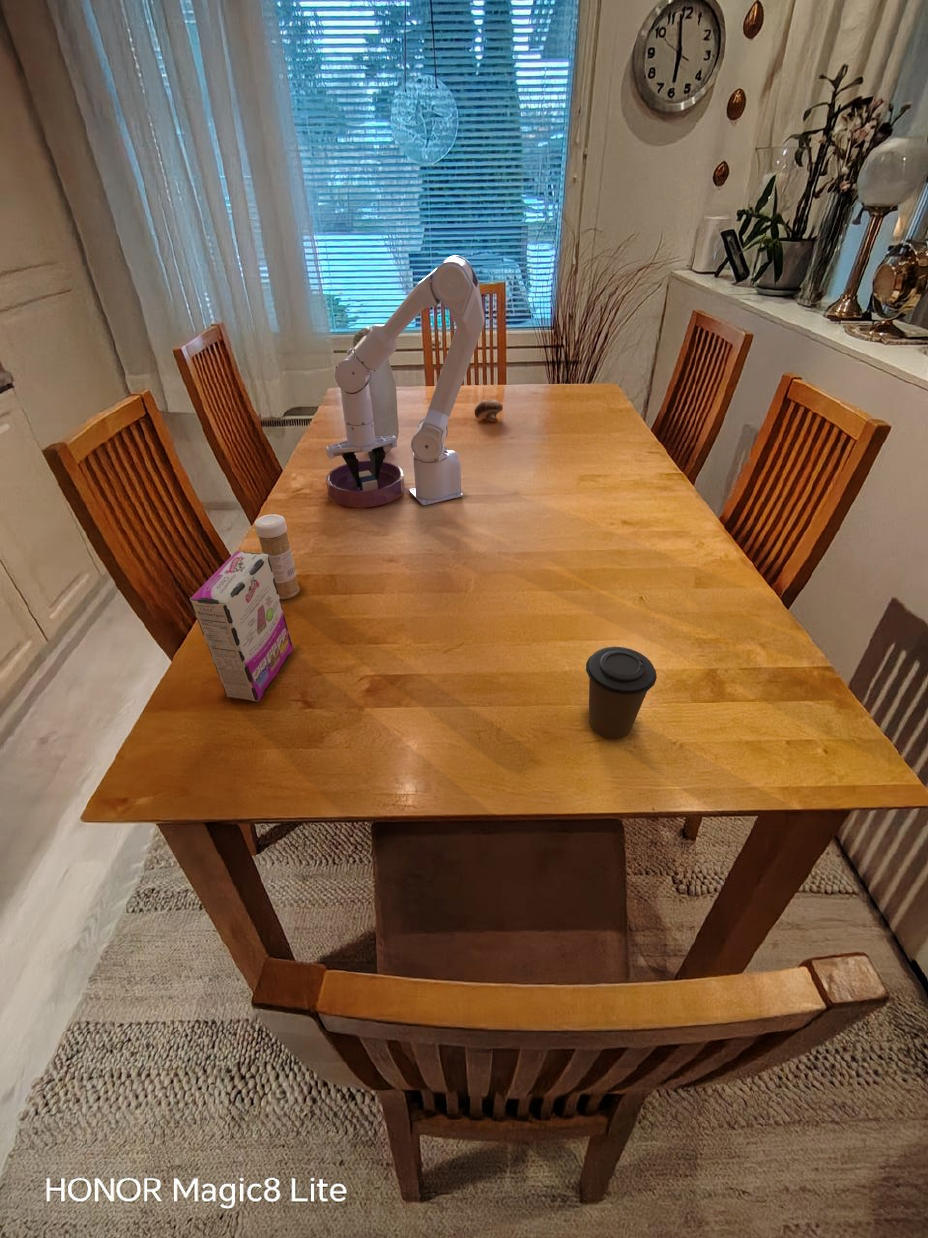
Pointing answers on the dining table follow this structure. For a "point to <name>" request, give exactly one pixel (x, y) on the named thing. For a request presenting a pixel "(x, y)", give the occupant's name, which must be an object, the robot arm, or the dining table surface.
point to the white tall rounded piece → (382, 398)
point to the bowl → (350, 495)
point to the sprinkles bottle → (278, 553)
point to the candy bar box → (243, 624)
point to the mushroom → (488, 410)
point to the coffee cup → (617, 689)
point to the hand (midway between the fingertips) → (366, 484)
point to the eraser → (367, 481)
